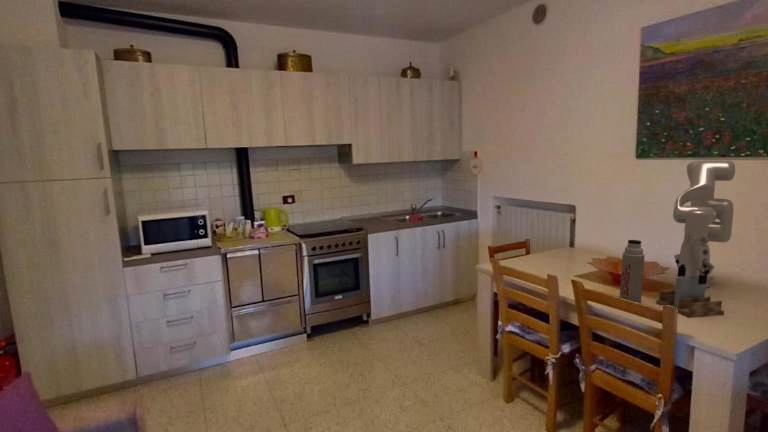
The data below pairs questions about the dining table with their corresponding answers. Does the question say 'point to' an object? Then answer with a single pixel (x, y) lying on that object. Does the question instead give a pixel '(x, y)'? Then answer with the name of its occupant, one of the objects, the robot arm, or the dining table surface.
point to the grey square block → (688, 288)
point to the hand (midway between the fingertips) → (691, 280)
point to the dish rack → (691, 305)
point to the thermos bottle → (632, 272)
